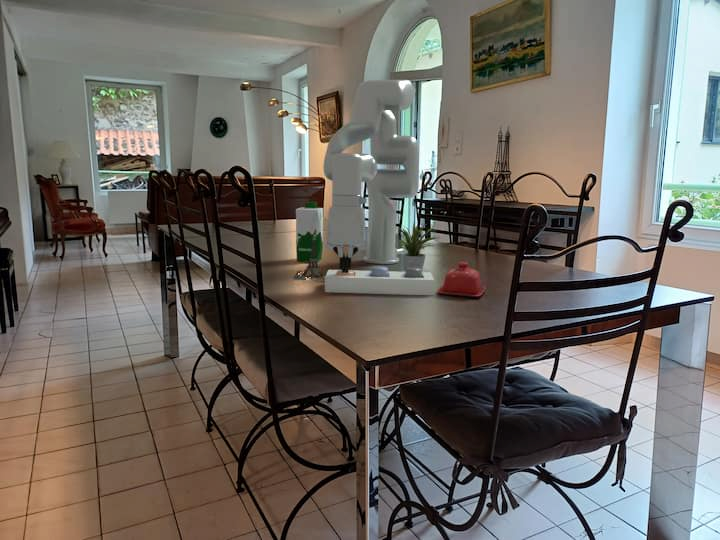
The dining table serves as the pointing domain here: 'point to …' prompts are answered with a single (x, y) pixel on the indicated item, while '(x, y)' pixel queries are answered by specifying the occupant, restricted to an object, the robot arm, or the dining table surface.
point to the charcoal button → (413, 272)
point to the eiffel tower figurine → (311, 267)
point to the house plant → (414, 247)
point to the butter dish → (462, 282)
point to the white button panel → (379, 283)
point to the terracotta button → (350, 273)
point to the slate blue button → (379, 271)
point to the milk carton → (309, 231)
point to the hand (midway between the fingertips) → (345, 271)
